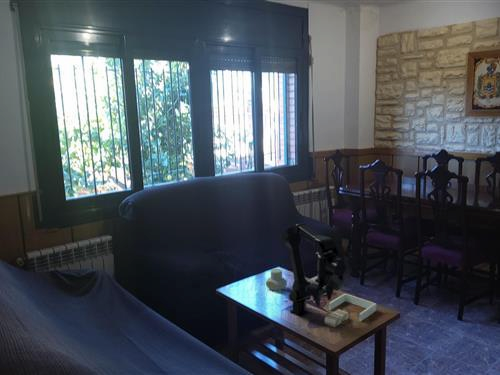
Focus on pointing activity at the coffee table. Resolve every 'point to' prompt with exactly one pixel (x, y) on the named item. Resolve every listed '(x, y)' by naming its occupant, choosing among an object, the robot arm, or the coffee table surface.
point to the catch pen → (357, 301)
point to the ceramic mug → (315, 282)
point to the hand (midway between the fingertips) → (323, 303)
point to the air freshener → (276, 280)
